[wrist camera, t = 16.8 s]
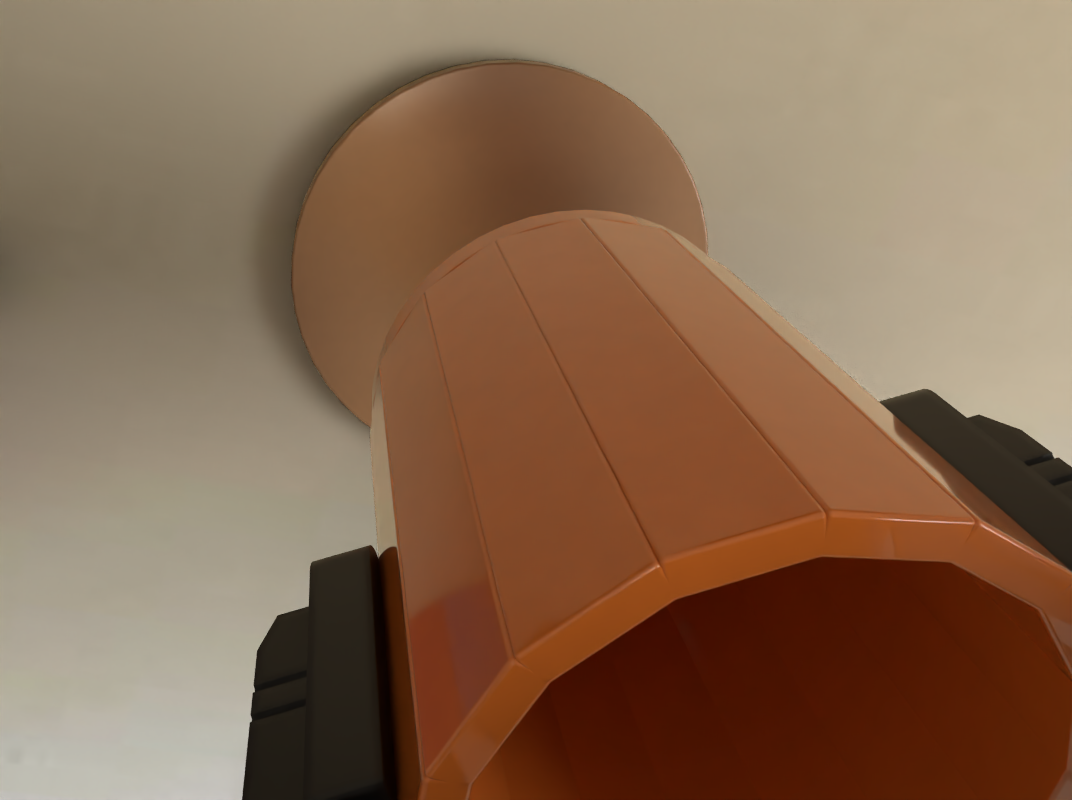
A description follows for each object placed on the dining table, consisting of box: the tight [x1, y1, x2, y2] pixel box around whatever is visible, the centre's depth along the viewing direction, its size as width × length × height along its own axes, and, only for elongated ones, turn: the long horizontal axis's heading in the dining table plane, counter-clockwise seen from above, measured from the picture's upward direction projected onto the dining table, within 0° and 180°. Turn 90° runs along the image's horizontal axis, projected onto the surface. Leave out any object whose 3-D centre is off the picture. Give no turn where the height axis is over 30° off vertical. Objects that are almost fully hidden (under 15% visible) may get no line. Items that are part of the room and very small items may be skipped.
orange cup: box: [370, 210, 1072, 800], centre depth 11 cm, size 6×6×8 cm
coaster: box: [291, 59, 708, 428], centre depth 20 cm, size 9×9×1 cm
